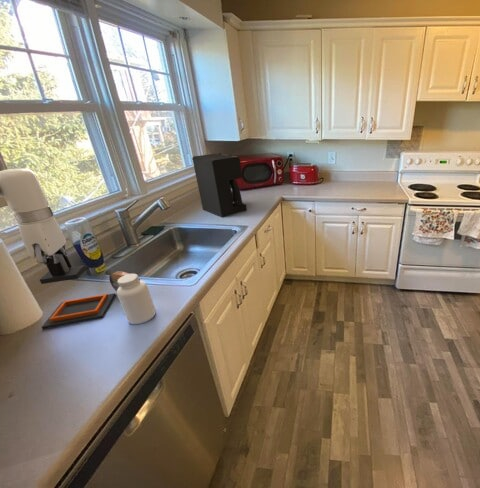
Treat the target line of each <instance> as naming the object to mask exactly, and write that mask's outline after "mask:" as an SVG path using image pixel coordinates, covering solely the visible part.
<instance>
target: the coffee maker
mask: <svg viewBox="0 0 480 488" xmlns="http://www.w3.org/2000/svg"><path fill="white" fill-rule="evenodd" d="M191 160H192V164H193V168H194V174H195V177H196V178H195V179H196V183H197V188H198V192H199V198H200V202H201V206H202V210H203V211H205V212H207V213H210V214H213V215H215V216H218V217H220V218H225V217H228V216H232V215H235V214H238V213H242V212H246V211H247V209H248V208H247V204H246V203H243V198H242V194H241V190H240V187H239V185H238V182H237V180H239V179H242V177H243V171H242V165H241V158H240V157H239V156H235V155H233V154H224V153H210V154H203V155H202V154H201V155H194V156H192V157H191Z"/></svg>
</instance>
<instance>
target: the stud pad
mask: <svg viewBox="0 0 480 488" xmlns="http://www.w3.org/2000/svg"><path fill="white" fill-rule="evenodd" d="M55 255H56V258H57V260H58V262H60V263H61V265H62V267H63V269H64V271H65V274H64V275H57V276H52V275H51V273H50V271H49V270H48V271H47V272H46V273H45V274H44V275H43V276H41V278H40V279H39V282H40V284H41V285H44V284H45V285H46V284H50V283H58V282H65V281H70V280H71V281H72V280H78V279H80V277H81V276H82V274H84V273H85V271H86V270H87V268H86V265H85V264H84V265H76V266H75V265H74V266H72V267H71V268H68V266H67V264H66V262H65V260H64V258H63V255H62V254H55ZM47 258H51V256H50V257H47ZM51 259H52V258H51Z"/></svg>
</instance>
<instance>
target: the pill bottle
mask: <svg viewBox="0 0 480 488" xmlns="http://www.w3.org/2000/svg"><path fill="white" fill-rule="evenodd" d="M139 279H140V277H139V275H138V274H136V273H129V274H127V275H124V276H122V277H120V278H119V279H118V281H117V282H118V285H119V286H120V287H119V288H118V290H117V291H116V297H117V298H118V301H119V303H120V305H121V307H122V310H123V312H124V316H125V317H126V320H127V322H128V323H129V324H132V325H140V324H144V323H146V322H148V321H150V320H151V319H153V318H154V316H155V315H156V312H157V311H156V308H155V304H154V302H153V298H152V295H151V293H150V290H149V288H148V285H147V283H146V282H145V281H144V280H141V279H140V280H139Z"/></svg>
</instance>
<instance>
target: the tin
mask: <svg viewBox="0 0 480 488" xmlns="http://www.w3.org/2000/svg"><path fill="white" fill-rule="evenodd" d="M127 274H130V273H129V272H125V271H123V270H117V271H115V272H112V273H110V274H109V275H108V277H109V278H108V279H109V283H110V286H111V287H112V288H113V289H114V291H115V292H117V290H118V288H119V287H120V286H119V285H118V282H117V281H118V279H119V278H120V277H122V276H124V275H127ZM139 280H141V279H140V278H139Z"/></svg>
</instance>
